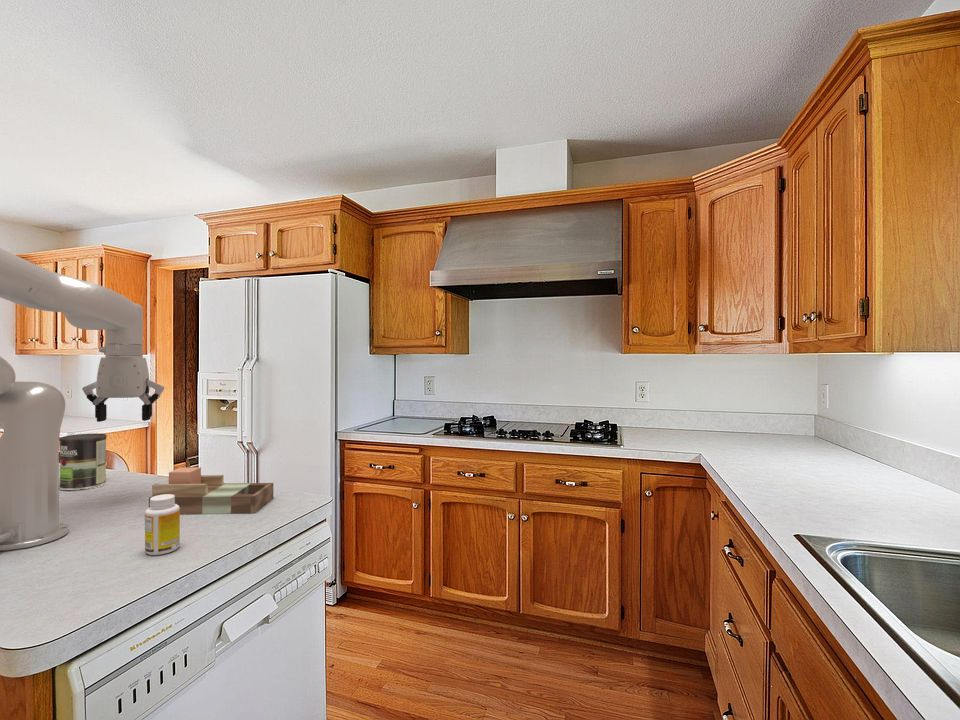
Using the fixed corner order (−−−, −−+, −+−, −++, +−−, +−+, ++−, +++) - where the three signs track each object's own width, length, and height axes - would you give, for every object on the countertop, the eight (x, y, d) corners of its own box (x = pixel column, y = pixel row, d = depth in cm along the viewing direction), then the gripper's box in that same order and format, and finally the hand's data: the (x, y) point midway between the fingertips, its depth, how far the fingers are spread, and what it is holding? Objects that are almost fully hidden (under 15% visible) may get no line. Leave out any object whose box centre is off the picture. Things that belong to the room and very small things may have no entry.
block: (190, 492, 115) (190, 472, 115) (168, 493, 115) (168, 472, 115) (200, 487, 120) (200, 467, 120) (180, 487, 120) (180, 467, 120)
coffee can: (76, 492, 129) (76, 440, 129) (49, 489, 132) (49, 438, 132) (115, 483, 139) (115, 434, 138) (90, 480, 142) (90, 432, 141)
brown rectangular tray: (255, 513, 113) (255, 485, 113) (148, 514, 112) (148, 486, 111) (273, 498, 125) (273, 473, 125) (177, 499, 123) (177, 474, 123)
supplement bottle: (185, 544, 95) (185, 492, 95) (170, 555, 89) (170, 501, 89) (155, 545, 94) (155, 493, 94) (138, 556, 89) (138, 501, 88)
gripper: (74, 351, 114) (74, 423, 114) (157, 352, 118) (157, 421, 118) (92, 351, 121) (91, 419, 121) (169, 352, 125) (169, 417, 125)
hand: (124, 420), depth 120 cm, fingers open, 9 cm apart
